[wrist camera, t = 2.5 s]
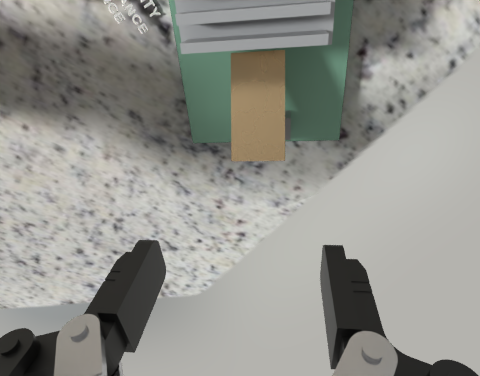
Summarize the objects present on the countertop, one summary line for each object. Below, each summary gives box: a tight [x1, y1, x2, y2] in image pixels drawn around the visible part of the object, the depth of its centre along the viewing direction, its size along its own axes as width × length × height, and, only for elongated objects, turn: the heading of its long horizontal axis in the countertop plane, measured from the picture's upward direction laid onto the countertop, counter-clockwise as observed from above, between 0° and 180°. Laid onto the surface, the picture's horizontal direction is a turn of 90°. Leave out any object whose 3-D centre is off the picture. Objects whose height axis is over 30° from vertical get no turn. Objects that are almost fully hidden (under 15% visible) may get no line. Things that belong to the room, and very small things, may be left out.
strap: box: [231, 50, 285, 161], centre depth 23 cm, size 8×4×1 cm
